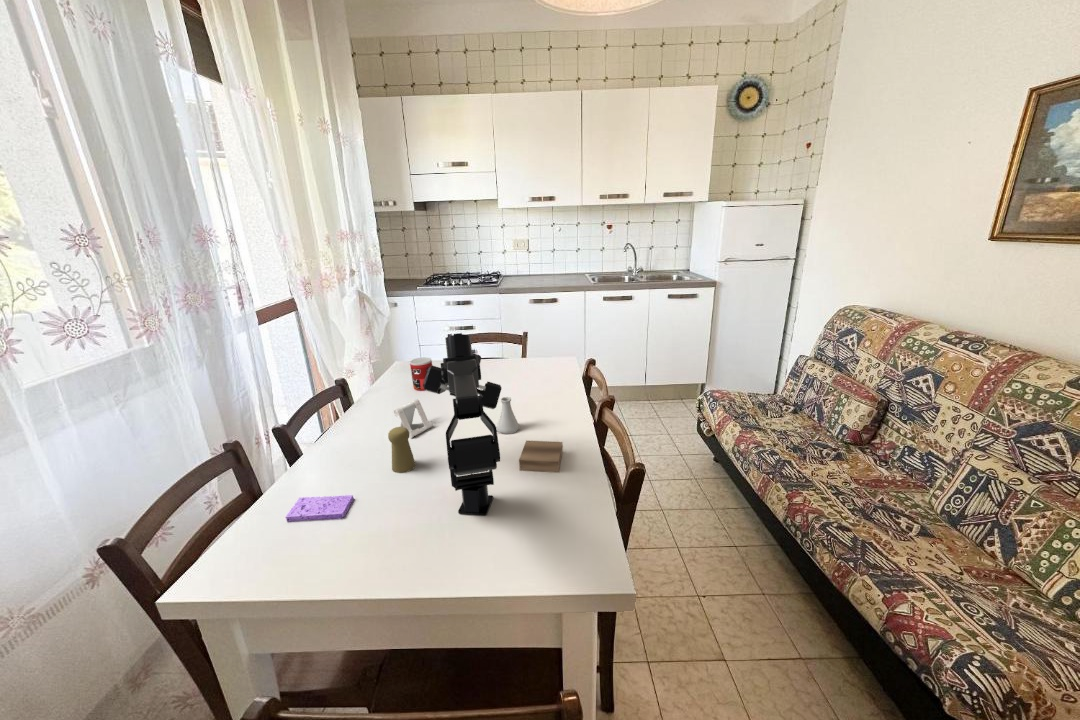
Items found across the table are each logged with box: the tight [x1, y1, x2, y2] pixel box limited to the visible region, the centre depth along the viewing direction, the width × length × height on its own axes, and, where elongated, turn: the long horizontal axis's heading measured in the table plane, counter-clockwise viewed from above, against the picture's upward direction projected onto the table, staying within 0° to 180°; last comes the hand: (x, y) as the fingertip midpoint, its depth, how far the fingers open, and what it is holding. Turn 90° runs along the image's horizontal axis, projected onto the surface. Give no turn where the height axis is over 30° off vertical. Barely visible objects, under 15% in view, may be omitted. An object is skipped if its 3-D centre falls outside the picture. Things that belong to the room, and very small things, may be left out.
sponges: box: [284, 494, 355, 522], centre depth 99 cm, size 7×13×2 cm, turn 92°
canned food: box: [409, 357, 433, 392], centre depth 167 cm, size 8×8×11 cm
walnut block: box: [518, 440, 564, 473], centre depth 115 cm, size 10×10×3 cm
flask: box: [496, 396, 520, 435], centre depth 132 cm, size 7×7×10 cm
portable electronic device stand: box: [393, 399, 434, 439], centre depth 134 cm, size 9×8×8 cm
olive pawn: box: [388, 426, 416, 474], centre depth 114 cm, size 6×6×11 cm
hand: (462, 392), depth 117 cm, fingers open, 9 cm apart
